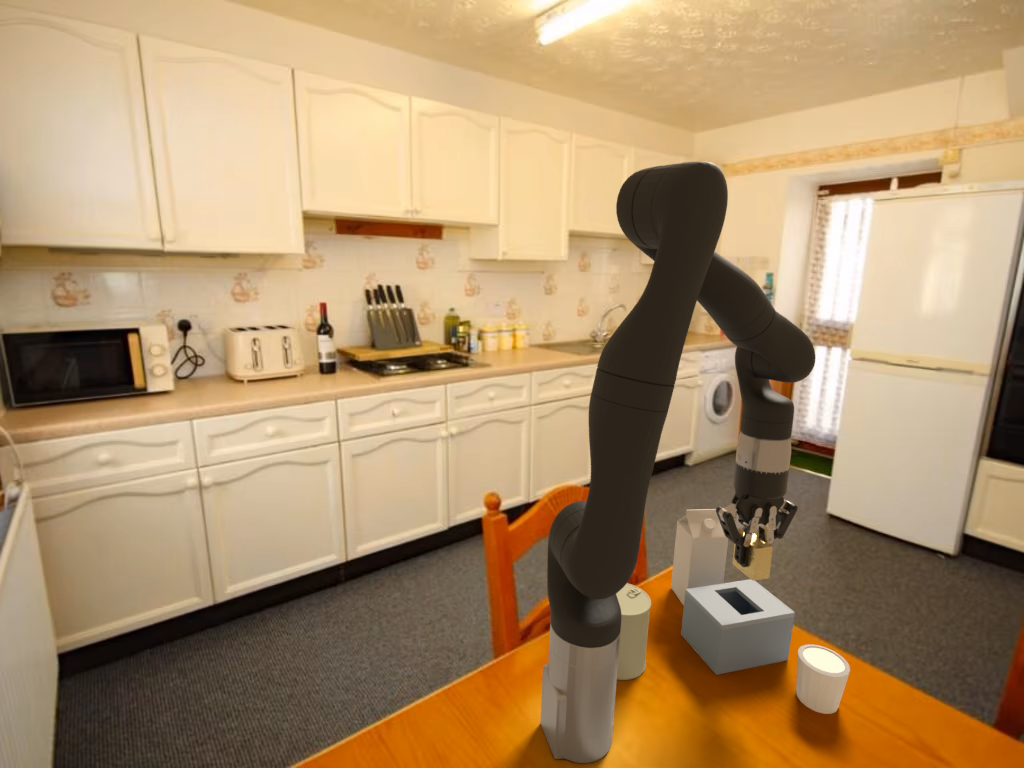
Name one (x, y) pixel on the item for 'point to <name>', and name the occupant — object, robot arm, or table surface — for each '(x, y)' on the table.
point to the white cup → (821, 678)
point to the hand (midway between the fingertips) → (751, 562)
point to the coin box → (737, 625)
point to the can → (633, 631)
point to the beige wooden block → (757, 559)
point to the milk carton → (698, 552)
